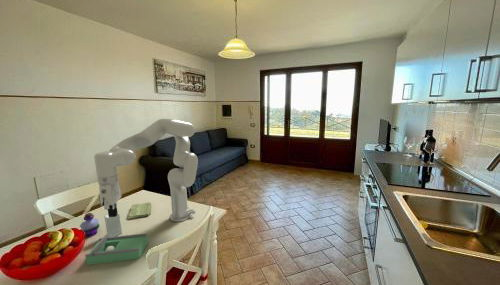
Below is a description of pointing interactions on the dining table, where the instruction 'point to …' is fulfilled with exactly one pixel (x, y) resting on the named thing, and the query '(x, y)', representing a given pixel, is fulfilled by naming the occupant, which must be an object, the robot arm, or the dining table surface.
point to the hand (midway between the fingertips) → (113, 215)
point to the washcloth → (140, 210)
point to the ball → (110, 248)
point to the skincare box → (113, 225)
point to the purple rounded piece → (90, 225)
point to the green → (117, 249)
